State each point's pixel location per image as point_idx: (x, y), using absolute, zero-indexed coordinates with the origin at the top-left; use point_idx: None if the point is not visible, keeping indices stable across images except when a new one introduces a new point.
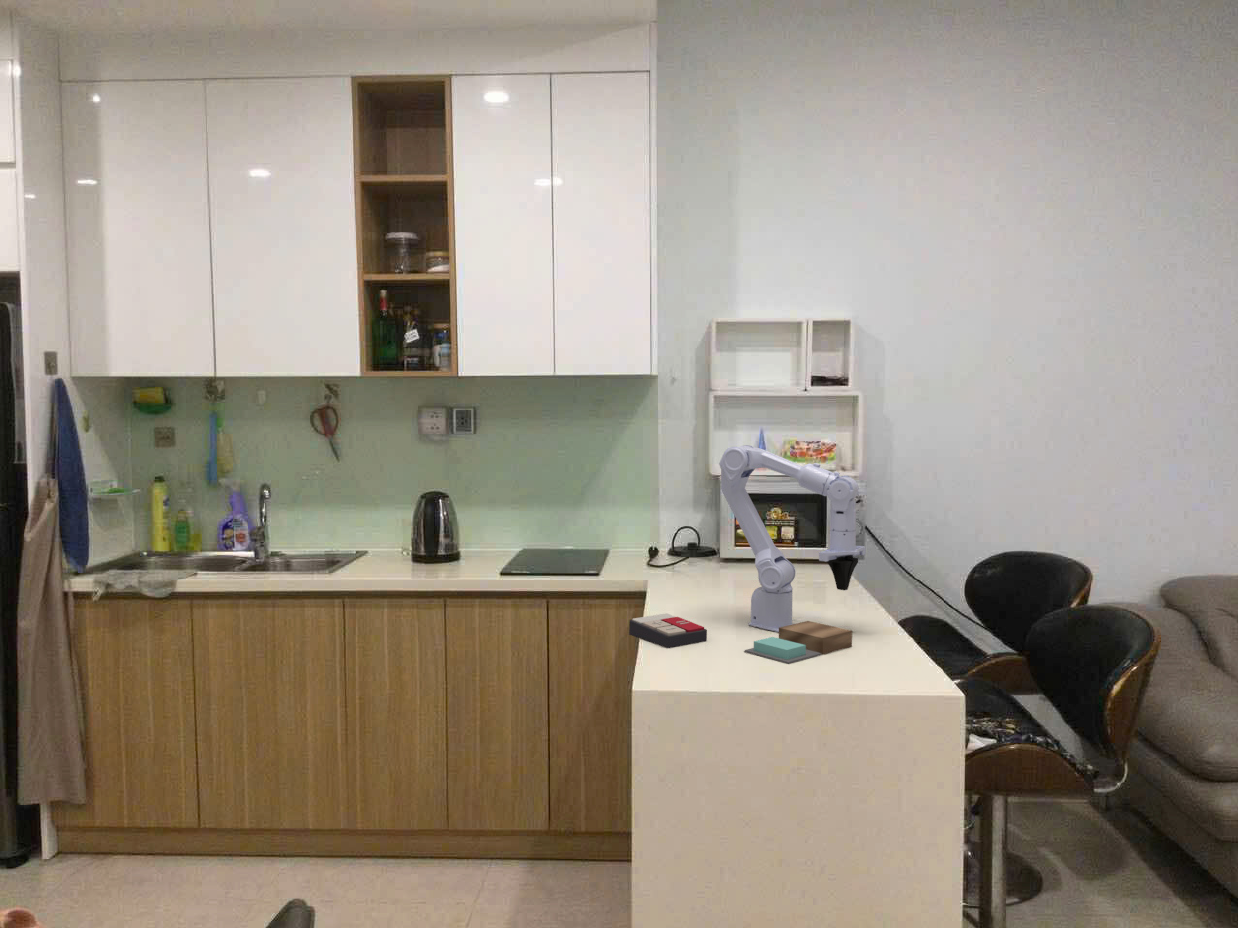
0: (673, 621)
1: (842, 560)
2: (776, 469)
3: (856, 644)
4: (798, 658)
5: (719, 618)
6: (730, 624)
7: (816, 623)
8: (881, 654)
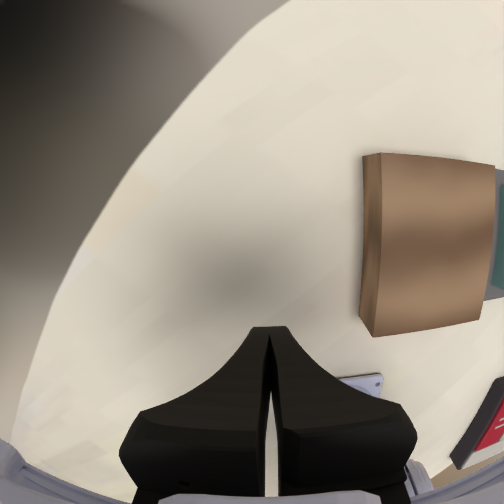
0: (501, 429)
1: (349, 482)
2: None
3: (330, 163)
4: None
5: None
6: None
7: (384, 298)
8: (357, 58)
